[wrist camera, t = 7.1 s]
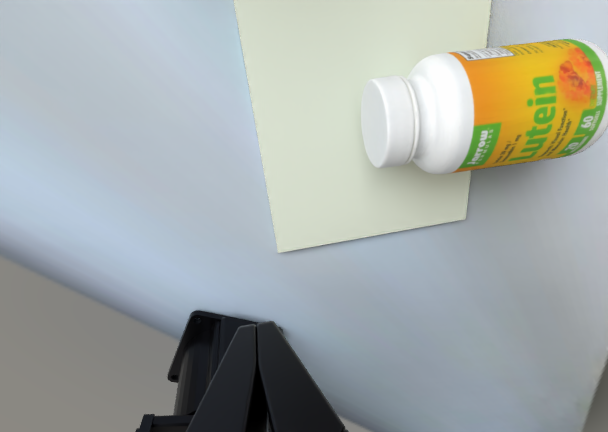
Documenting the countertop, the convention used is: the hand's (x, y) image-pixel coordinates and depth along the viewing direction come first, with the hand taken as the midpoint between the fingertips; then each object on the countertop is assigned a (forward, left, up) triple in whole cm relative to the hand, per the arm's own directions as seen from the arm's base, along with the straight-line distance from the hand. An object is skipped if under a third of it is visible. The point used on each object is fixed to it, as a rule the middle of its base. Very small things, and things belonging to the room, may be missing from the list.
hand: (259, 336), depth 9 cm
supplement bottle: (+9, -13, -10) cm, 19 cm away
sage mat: (+4, -5, -13) cm, 15 cm away
